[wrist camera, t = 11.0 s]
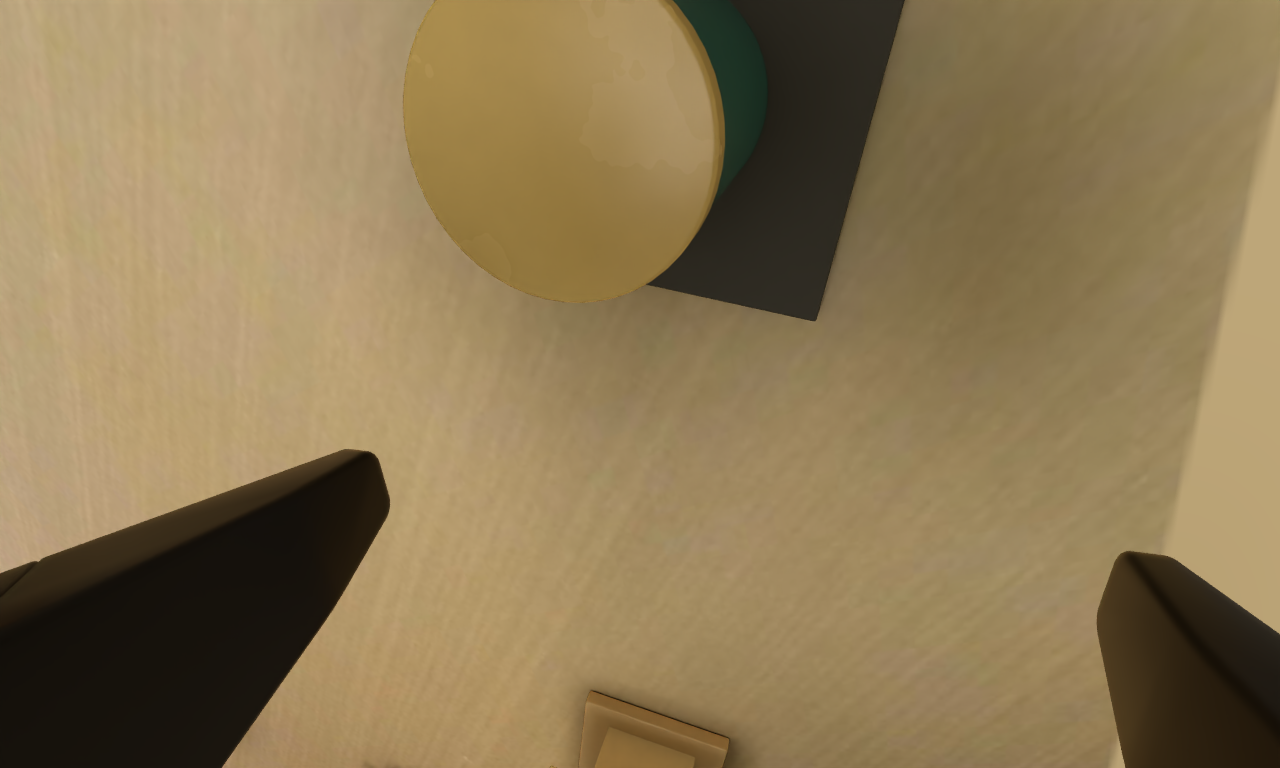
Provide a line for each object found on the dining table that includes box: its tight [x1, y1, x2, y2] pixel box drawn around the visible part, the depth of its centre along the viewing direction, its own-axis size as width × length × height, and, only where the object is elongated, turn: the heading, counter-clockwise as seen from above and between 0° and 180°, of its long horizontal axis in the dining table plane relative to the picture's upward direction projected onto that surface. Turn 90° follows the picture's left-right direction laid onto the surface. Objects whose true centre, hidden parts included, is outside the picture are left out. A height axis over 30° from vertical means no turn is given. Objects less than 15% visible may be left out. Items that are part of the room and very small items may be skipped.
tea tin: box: [403, 0, 768, 303], centre depth 13 cm, size 5×5×7 cm
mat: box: [646, 0, 905, 321], centre depth 17 cm, size 10×10×1 cm
